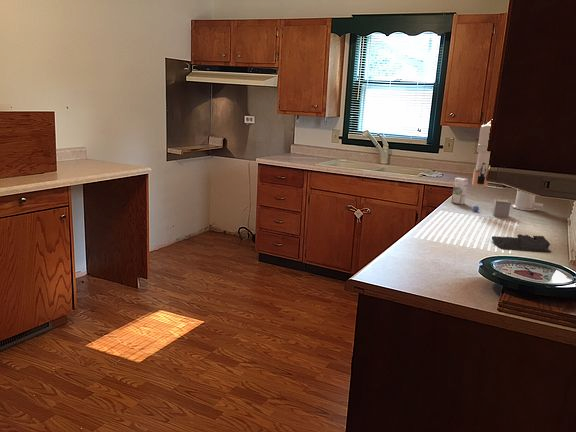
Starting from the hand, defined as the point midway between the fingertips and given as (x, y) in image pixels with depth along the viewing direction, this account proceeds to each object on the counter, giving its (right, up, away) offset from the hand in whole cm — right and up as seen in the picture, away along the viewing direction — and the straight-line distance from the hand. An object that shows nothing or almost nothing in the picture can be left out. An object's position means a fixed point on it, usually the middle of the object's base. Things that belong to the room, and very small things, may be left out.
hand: (479, 182), depth 265 cm
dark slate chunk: (-5, -31, -57) cm, 65 cm away
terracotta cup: (0, -1, 0) cm, 1 cm away
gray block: (+9, -18, -3) cm, 20 cm away
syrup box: (-4, -11, +23) cm, 25 cm away
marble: (-1, -15, +4) cm, 16 cm away
